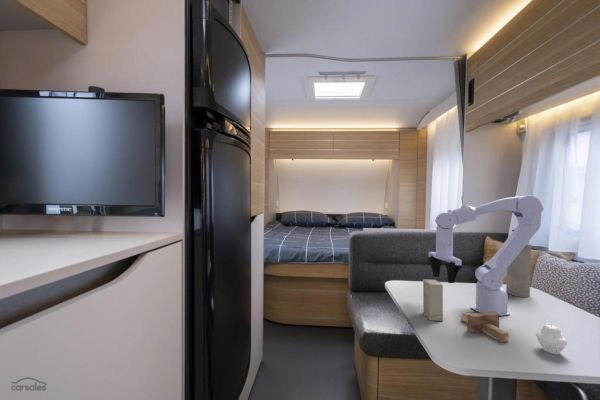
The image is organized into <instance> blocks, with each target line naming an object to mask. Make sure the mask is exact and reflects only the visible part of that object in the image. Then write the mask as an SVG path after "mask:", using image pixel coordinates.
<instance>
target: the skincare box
mask: <svg viewBox="0 0 600 400" xmlns="http://www.w3.org/2000/svg"><path fill="white" fill-rule="evenodd" d="M422 282H423V285H422V286H423V287H422V288H423V289H422V290H423V291H422V292H423V293H422V295H423V296H422V297H423V298H422V299H423V300H422V301H423V302H422V303H423V305H422V306H423V307H422V311H423V314H424V316H425V317H426V318H427V319H428V320H429V321H433V322H434V321H436V322H437V321H438V322H442V321H444V318H443V317H444V315H443V314H444V313H443V312H444V311H443V310H444V309H443V308H444V307H443V303H444V302H443V301H444V299H443V298H444V297H443V296H444V295H443V291H444V289H443V288H444V287H443V286H444V285H443V283H441V282H440V281H439V280H437V279H431V278H430V279H429V278H428V279H425V278H423V279H422Z"/></svg>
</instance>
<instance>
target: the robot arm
mask: <svg viewBox="0 0 600 400" xmlns="http://www.w3.org/2000/svg"><path fill="white" fill-rule="evenodd" d="M544 209H545V208H544V206H543V205H542V202H541V200H540V199H539V198H538V197H536V196H534V195H516V196H513V197H505V198H500V199H496V200H494V201H490V202H486V203H484V204H480V205H479V206H474V207H473V206H471V205H466V204H462V205H461V206H460V207H459V208H455V209H453V210H452V209H448V210H447V212H440V213H438V214H437V215H436V217H435V219H434V220H435V223H436V231H435V251H428V258H427V262H428V263H429V266H430V269H431V272H432V276H433V277H435V278H439V277H440V273H441V265H442V263H443V261H444V262H447V263H445V264H444V266H445V269H446V272H447V282H448V284H455V281H456V278H457V275H458V273H459V272H460V271H461V269H462V267H463V265H462V261H463V260H462V259H460V258H458V257H455V256H454V255H453V254H454V226H455V225H456V226H458V225H462V224H466V223H469V222H473V221H476V219H477V218H478V216H481V215H485V214H486V215H487V214H489V213H493V212H498V211H501V210H504V211H511V212H512V213H513V215H514V216H515V218H516V220H517V223H518V224H517V226H516V227H515V229H513V230H514V231H513V232H512V233H510V234H509V236H508V238H507V239H506V240H505V241H504V242H503V244H502V245H501V246H500V247H499V248H498V250H497V251H496V253H495V254H494V255H493V256H492V258H490V259H489V260H488V261H485V263H484V264H483V265H481V266H479V267H477V268H476V269H475V271H474V275H475V278H476V279H477V282H476V284H475V305H471V306H469V309H472V310H474V311H476V312H477V313H486V312H496V313H498V314H499V317H500V316H501V317H502V316H510V313H509V312H508V306H509V305H508V303H509V296H508V293H507V292H506V289H504V288H503V284H504V279H505V277H507V268H508V266H509V265H510V264H511V263H512V262H513V260H514V259H515V258H516V257H517V255H518V254H519V253H520V252H521V250H522V249H523V248H524V247H525V245H526V244H527V243H528V242H529V243H530V241H531V239H532V238H533V237H534V236H535V234H536V233H537V232H538V231H539V230H540V228H541V224H542V223H541V222H542V212H543V211H544Z"/></svg>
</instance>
